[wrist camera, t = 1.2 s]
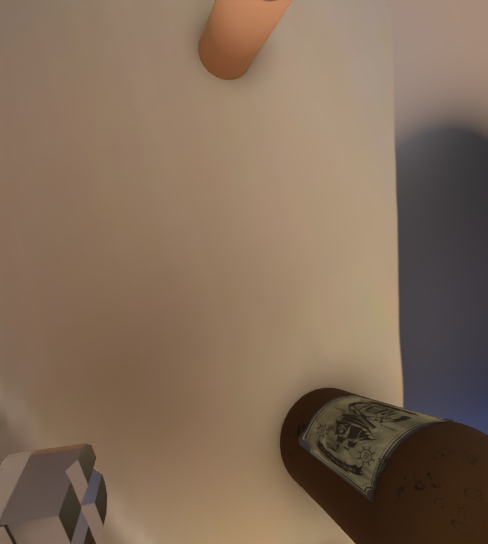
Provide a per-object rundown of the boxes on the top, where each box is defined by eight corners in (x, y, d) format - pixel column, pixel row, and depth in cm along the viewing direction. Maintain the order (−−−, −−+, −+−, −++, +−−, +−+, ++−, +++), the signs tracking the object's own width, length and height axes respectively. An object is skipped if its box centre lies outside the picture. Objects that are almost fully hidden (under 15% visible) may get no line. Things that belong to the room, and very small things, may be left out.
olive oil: (391, 446, 43) (749, 624, 19) (311, 521, 40) (622, 843, 16) (338, 358, 42) (651, 433, 18) (251, 428, 39) (494, 630, 15)
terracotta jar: (189, 59, 39) (221, -27, 29) (212, 15, 40) (251, -83, 30) (237, 89, 40) (284, 18, 30) (258, 46, 41) (311, -37, 31)
